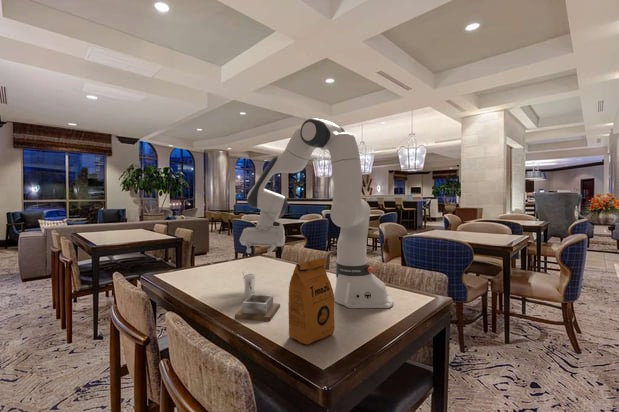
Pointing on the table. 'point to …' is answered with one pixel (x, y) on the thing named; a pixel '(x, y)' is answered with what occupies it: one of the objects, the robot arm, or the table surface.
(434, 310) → the table surface
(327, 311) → the coffee package
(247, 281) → the milkshake
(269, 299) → the socket base
